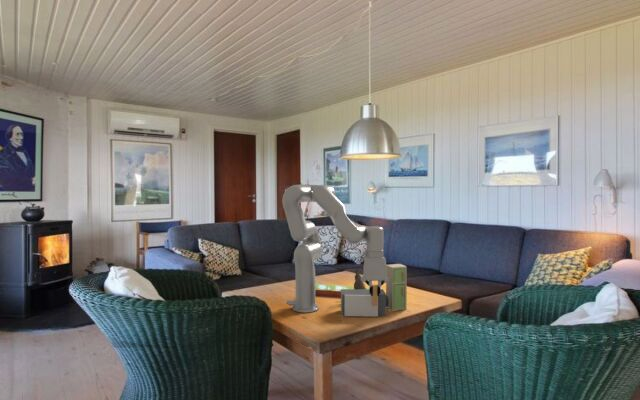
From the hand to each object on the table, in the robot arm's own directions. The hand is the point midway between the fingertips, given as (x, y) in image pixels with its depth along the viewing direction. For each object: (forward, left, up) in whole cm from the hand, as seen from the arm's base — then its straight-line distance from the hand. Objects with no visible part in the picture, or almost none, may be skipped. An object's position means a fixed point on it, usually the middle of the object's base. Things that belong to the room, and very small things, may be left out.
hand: (374, 294), depth 179 cm
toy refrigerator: (+13, +14, -11) cm, 22 cm away
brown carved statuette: (-2, +25, -11) cm, 28 cm away
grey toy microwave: (-4, +8, -11) cm, 14 cm away
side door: (-6, +1, -10) cm, 12 cm away
